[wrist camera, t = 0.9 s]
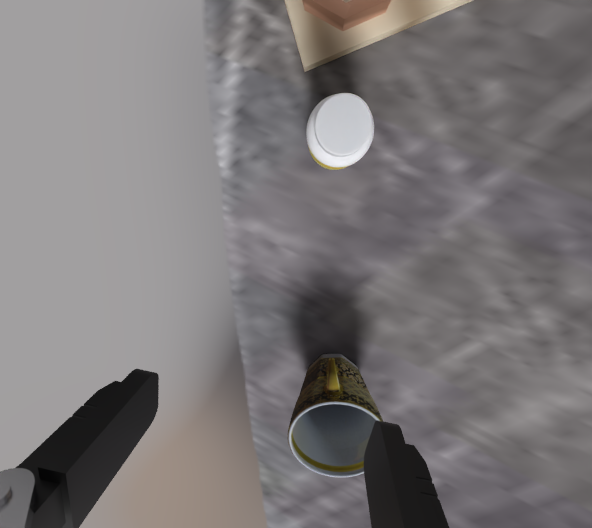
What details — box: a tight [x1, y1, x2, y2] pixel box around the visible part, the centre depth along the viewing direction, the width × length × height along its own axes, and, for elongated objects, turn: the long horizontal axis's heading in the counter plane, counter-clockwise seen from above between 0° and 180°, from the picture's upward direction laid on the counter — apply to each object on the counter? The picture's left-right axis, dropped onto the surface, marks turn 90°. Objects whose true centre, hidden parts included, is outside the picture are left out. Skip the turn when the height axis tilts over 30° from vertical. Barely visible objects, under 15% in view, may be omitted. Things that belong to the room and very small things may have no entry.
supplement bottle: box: [306, 93, 374, 170], centre depth 24 cm, size 5×5×10 cm
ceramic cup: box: [288, 354, 383, 477], centre depth 32 cm, size 13×10×10 cm
